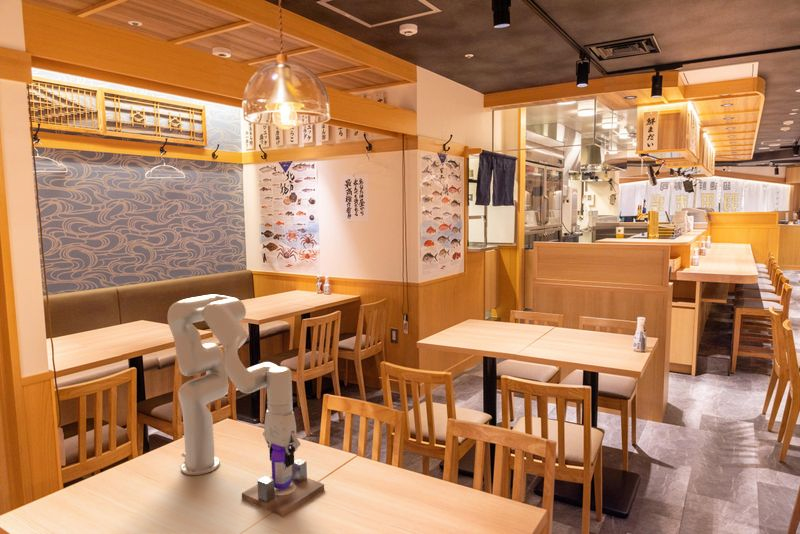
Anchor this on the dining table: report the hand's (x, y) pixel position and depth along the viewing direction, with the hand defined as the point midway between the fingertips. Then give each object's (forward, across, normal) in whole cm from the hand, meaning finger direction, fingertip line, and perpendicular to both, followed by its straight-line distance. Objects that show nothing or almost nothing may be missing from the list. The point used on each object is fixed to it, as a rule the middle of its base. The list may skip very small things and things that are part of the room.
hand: (282, 461), depth 169 cm
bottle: (+8, 0, 0) cm, 8 cm away
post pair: (+9, 0, 0) cm, 9 cm away
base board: (+11, 0, 0) cm, 11 cm away
